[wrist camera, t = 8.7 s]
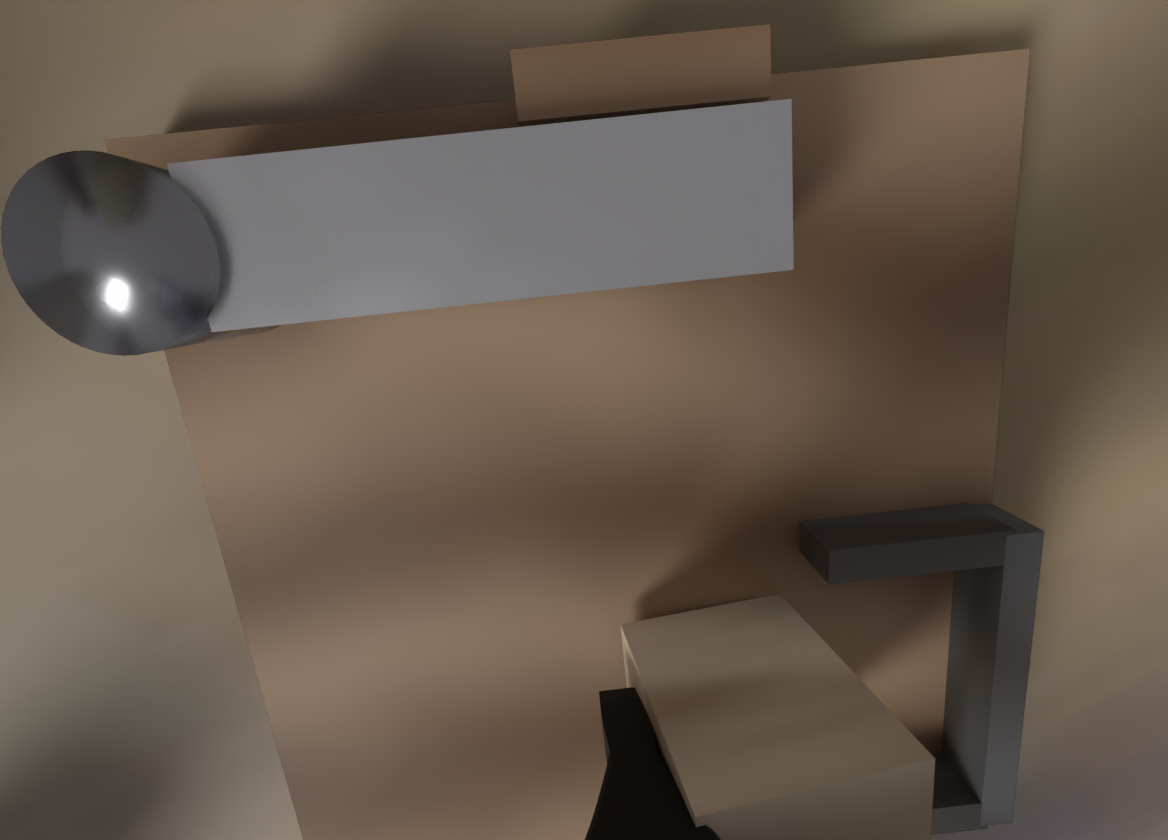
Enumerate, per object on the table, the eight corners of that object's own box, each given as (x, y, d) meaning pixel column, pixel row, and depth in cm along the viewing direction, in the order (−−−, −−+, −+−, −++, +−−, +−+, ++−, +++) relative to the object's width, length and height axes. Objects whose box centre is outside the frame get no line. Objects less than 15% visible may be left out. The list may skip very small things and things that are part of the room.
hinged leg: (188, 341, 12) (40, 364, 8) (148, 197, 11) (-30, 161, 8) (734, 282, 12) (801, 282, 8) (729, 136, 11) (800, 76, 8)
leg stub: (782, 729, 15) (924, 943, 10) (634, 763, 14) (708, 1005, 9) (779, 594, 14) (935, 758, 9) (620, 624, 13) (695, 816, 8)
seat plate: (937, 779, 17) (1035, 911, 13) (335, 849, 17) (274, 1001, 13) (985, 70, 12) (1155, -14, 9) (149, 153, 12) (-22, 100, 8)
